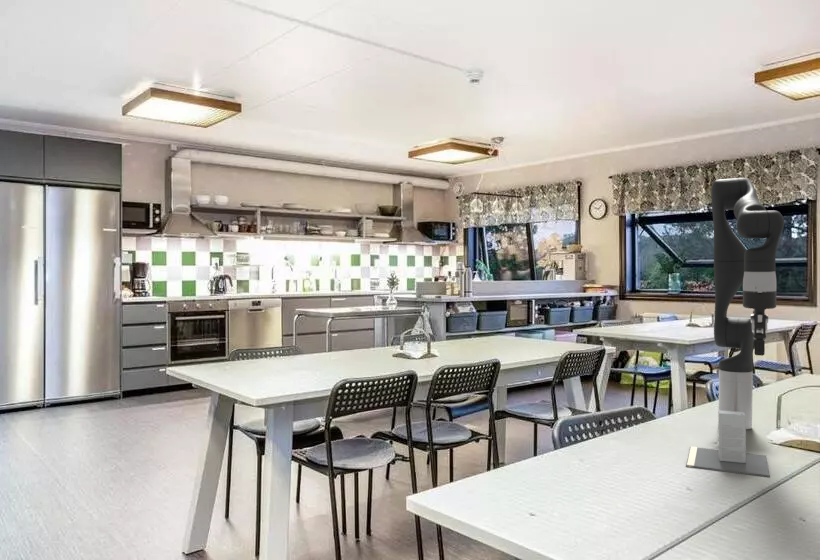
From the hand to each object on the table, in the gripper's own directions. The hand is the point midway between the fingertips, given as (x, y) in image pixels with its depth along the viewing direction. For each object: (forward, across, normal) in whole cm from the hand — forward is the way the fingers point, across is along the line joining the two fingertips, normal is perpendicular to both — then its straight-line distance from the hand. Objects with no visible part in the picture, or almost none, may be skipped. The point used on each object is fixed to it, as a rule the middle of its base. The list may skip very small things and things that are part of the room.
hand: (759, 352), depth 167 cm
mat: (+27, +9, -7) cm, 29 cm away
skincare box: (+26, +8, -6) cm, 28 cm away
